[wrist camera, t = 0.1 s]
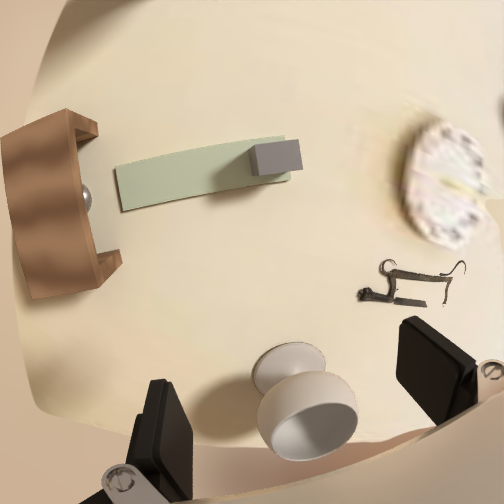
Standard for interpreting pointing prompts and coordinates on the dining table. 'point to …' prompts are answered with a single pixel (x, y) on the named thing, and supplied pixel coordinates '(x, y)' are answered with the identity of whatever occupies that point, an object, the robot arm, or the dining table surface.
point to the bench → (53, 206)
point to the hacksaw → (370, 295)
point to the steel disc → (87, 197)
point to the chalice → (303, 403)
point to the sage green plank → (207, 170)
